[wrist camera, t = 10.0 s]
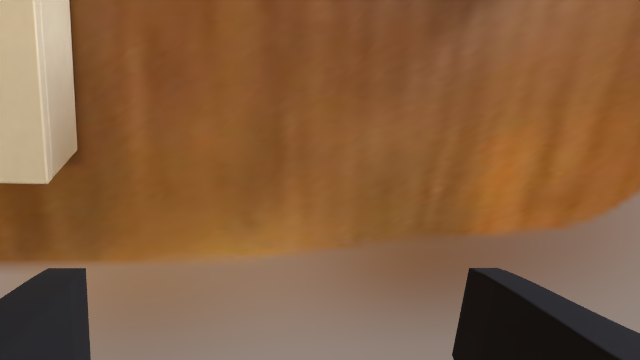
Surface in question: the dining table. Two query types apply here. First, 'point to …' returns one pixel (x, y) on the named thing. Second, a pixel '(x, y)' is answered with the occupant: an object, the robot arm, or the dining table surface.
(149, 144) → the dining table surface
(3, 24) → the beige flat block
